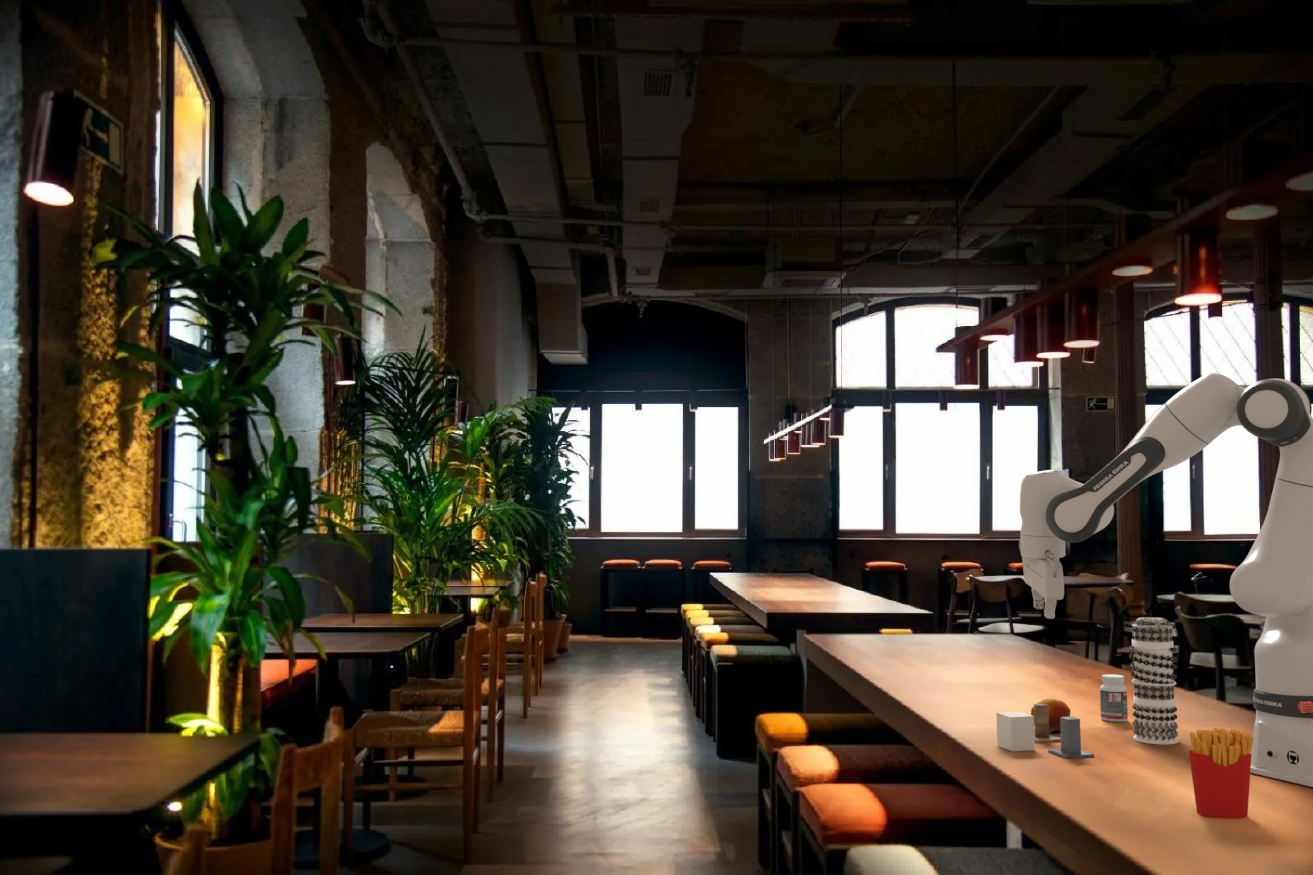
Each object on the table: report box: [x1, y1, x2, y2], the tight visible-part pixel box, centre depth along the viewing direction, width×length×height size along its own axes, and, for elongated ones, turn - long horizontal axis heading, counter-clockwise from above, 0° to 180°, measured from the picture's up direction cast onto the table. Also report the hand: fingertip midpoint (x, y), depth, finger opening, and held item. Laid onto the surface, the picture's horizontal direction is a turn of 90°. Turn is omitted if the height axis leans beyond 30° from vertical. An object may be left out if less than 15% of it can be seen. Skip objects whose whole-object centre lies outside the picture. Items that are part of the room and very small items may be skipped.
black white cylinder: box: [1128, 616, 1179, 745], centre depth 228 cm, size 9×9×25 cm
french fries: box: [1188, 727, 1254, 819], centre depth 172 cm, size 9×4×13 cm, turn 85°
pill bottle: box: [1099, 673, 1129, 723], centre depth 249 cm, size 6×6×10 cm
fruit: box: [1030, 698, 1071, 735], centre depth 237 cm, size 8×8×8 cm
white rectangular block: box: [995, 711, 1036, 752], centre depth 220 cm, size 5×5×7 cm
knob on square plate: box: [1033, 703, 1061, 744], centre depth 228 cm, size 6×6×7 cm
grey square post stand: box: [1047, 715, 1095, 760], centre depth 214 cm, size 6×6×7 cm
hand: (1044, 613), depth 230 cm, fingers open, 8 cm apart
